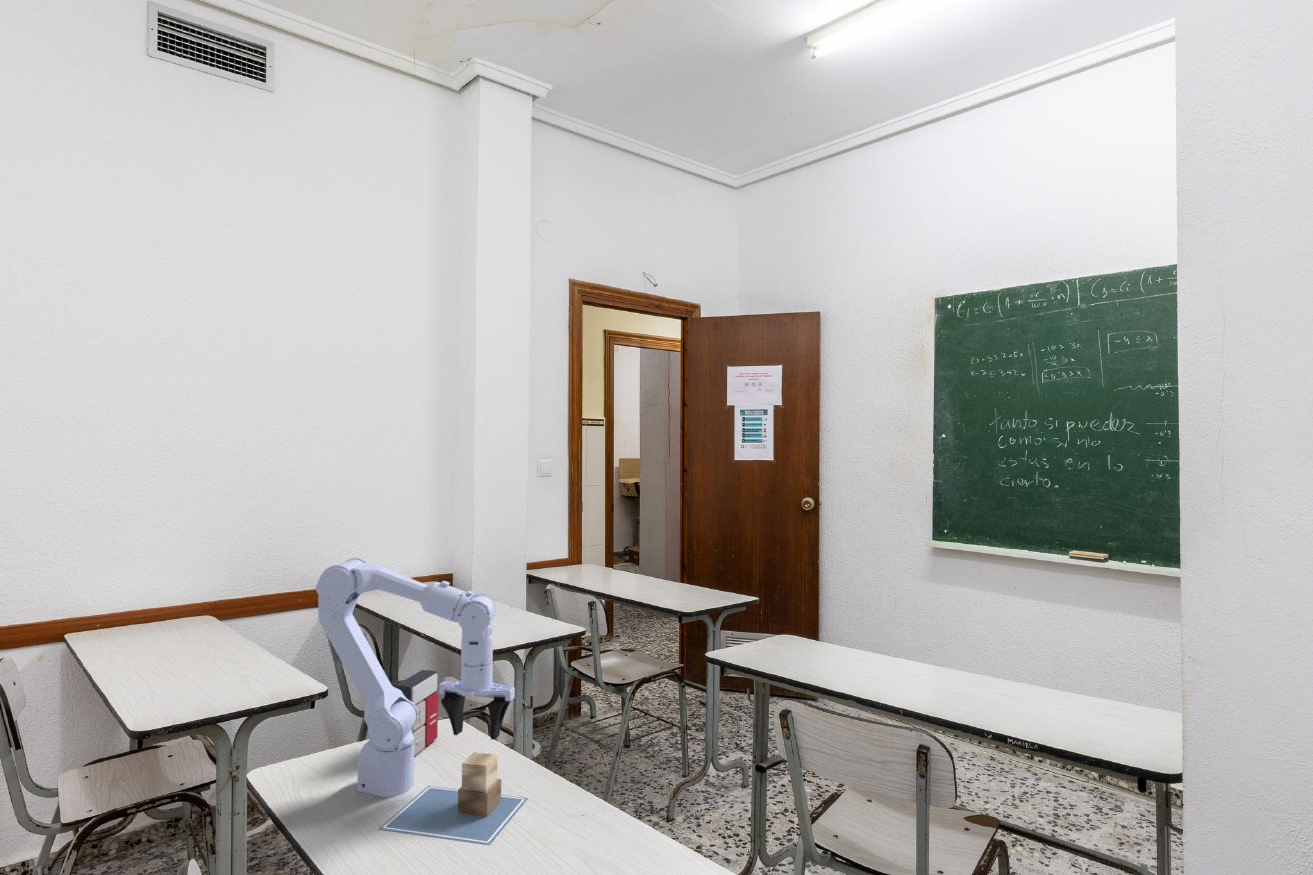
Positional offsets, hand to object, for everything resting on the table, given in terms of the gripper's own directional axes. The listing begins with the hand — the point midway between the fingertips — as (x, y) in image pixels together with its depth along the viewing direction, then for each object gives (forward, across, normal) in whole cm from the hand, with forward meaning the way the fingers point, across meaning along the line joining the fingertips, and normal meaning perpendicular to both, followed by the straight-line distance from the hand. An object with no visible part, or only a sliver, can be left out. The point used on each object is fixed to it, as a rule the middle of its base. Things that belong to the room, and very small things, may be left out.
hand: (476, 735), depth 132 cm
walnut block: (+10, +4, -7) cm, 12 cm away
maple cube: (+6, +4, -7) cm, 10 cm away
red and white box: (+10, -21, +14) cm, 27 cm away
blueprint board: (+10, +1, -10) cm, 14 cm away
